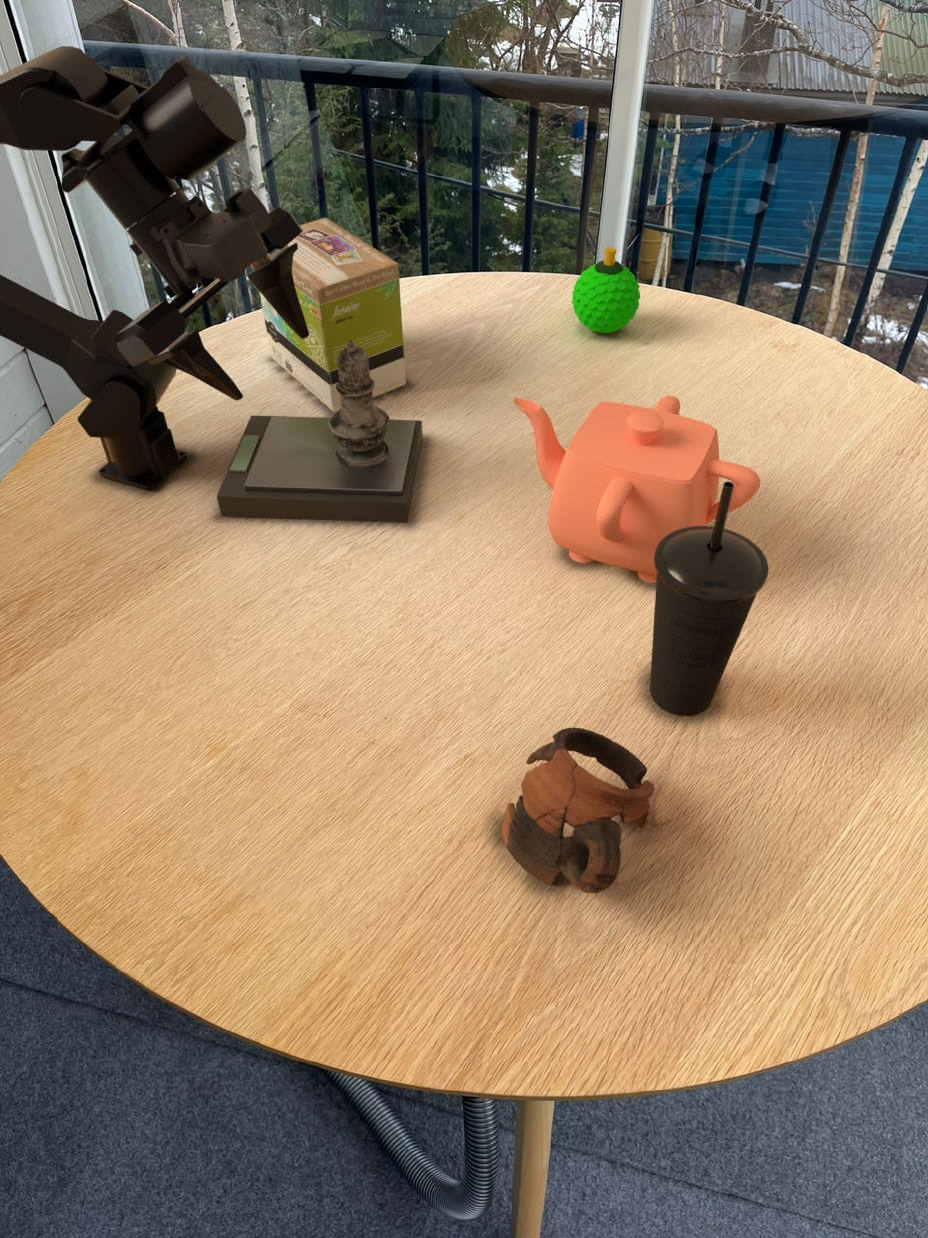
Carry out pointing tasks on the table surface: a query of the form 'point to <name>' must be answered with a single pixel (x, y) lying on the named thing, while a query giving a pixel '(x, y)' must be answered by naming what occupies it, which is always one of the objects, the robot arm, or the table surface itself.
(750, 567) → the drinking cup
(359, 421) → the chess piece
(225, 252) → the robot arm
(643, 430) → the teapot
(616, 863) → the pottery mug
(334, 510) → the scale
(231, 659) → the table surface
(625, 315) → the ornament
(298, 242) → the tea box
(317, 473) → the scale pan
